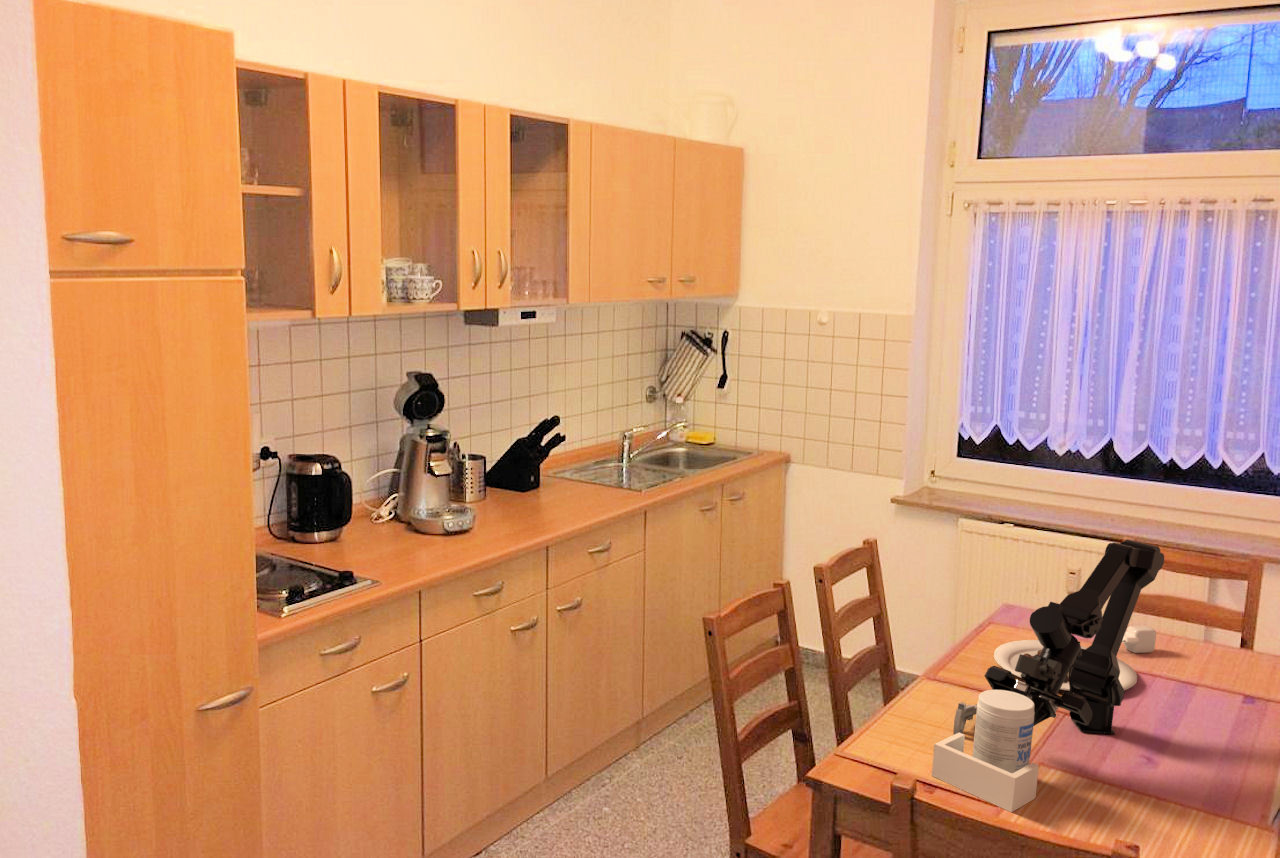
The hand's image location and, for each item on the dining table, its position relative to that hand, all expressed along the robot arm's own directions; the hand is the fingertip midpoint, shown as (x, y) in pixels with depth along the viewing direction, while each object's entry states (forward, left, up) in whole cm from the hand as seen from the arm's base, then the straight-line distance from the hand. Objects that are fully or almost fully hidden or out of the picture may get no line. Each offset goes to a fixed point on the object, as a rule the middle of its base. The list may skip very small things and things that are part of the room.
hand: (1016, 734), depth 189 cm
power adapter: (-45, -66, -7) cm, 80 cm away
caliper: (+1, -21, -7) cm, 23 cm away
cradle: (+7, +7, -7) cm, 12 cm away
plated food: (-25, -50, -7) cm, 57 cm away
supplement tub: (+3, +4, -7) cm, 9 cm away
